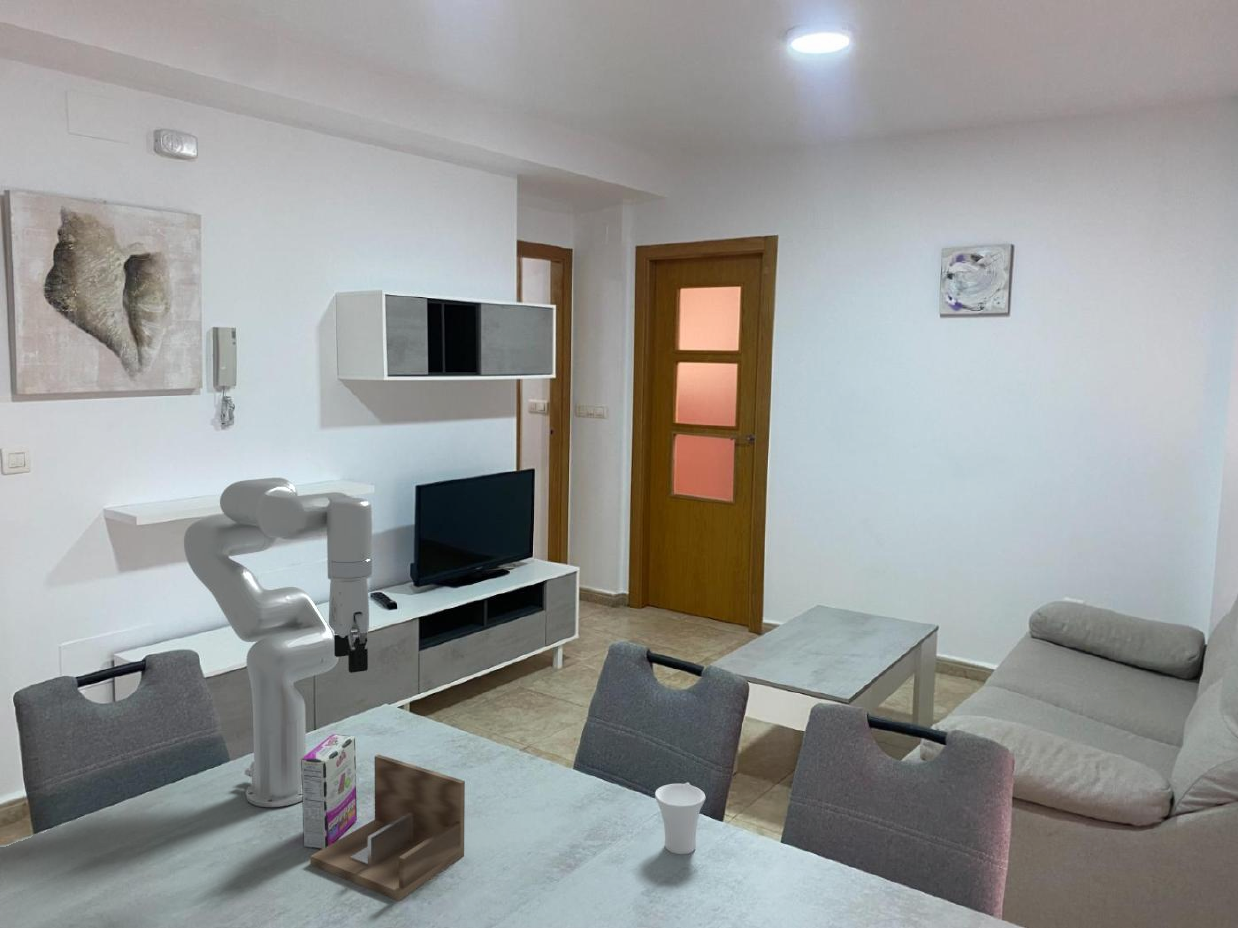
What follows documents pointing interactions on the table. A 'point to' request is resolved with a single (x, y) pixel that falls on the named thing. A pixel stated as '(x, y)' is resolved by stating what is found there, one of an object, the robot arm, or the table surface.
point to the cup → (680, 815)
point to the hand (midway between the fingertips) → (350, 663)
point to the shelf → (433, 830)
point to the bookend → (386, 841)
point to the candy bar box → (328, 791)
